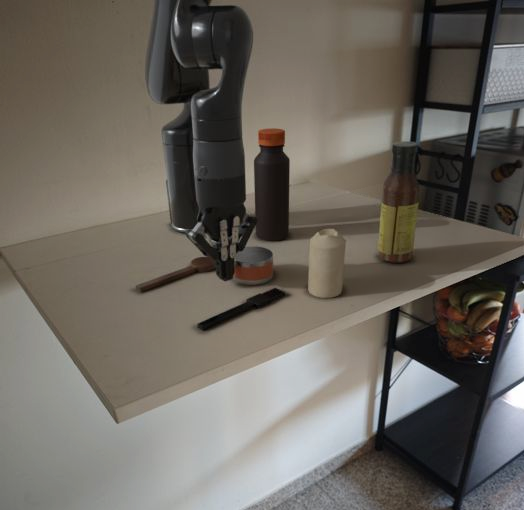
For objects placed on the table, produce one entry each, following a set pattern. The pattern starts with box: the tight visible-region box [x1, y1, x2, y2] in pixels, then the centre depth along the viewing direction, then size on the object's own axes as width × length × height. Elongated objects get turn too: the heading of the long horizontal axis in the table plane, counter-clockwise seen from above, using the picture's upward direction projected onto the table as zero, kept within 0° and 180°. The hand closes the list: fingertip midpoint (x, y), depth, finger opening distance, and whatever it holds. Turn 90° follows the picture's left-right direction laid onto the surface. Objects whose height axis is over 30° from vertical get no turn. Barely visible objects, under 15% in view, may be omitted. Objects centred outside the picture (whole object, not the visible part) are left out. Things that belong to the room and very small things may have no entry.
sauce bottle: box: [377, 140, 420, 264], centre depth 86 cm, size 6×6×20 cm
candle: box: [307, 228, 347, 299], centre depth 78 cm, size 6×6×10 cm
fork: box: [196, 287, 286, 332], centre depth 76 cm, size 16×3×1 cm, turn 133°
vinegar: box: [253, 127, 291, 242], centre depth 97 cm, size 7×7×20 cm
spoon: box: [135, 256, 216, 293], centre depth 86 cm, size 16×4×1 cm, turn 133°
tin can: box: [232, 245, 274, 286], centre depth 85 cm, size 7×7×4 cm
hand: (225, 278), depth 82 cm, fingers closed
